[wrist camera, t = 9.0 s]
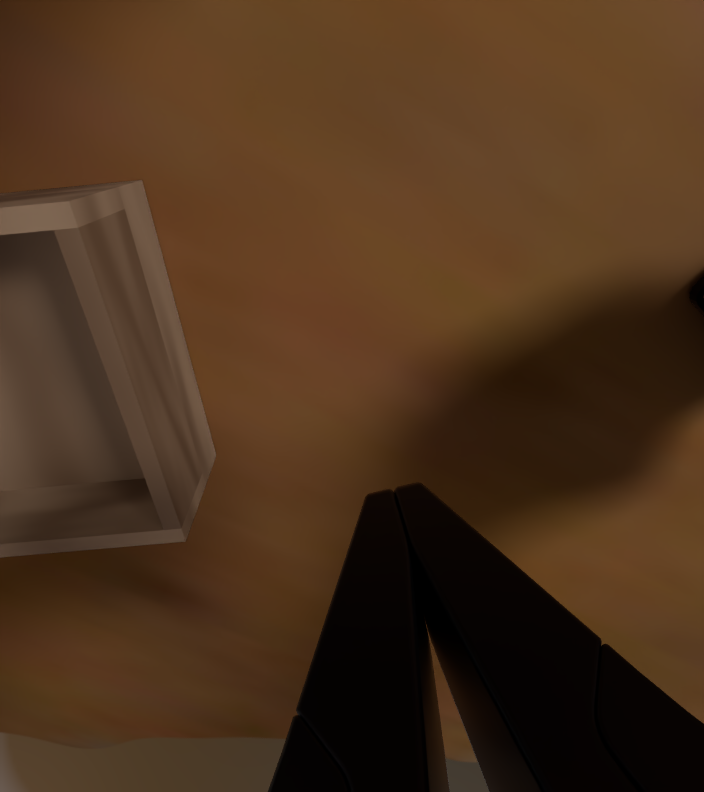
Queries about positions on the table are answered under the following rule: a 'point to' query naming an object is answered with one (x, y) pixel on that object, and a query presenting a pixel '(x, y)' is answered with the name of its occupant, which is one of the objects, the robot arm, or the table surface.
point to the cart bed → (93, 378)
